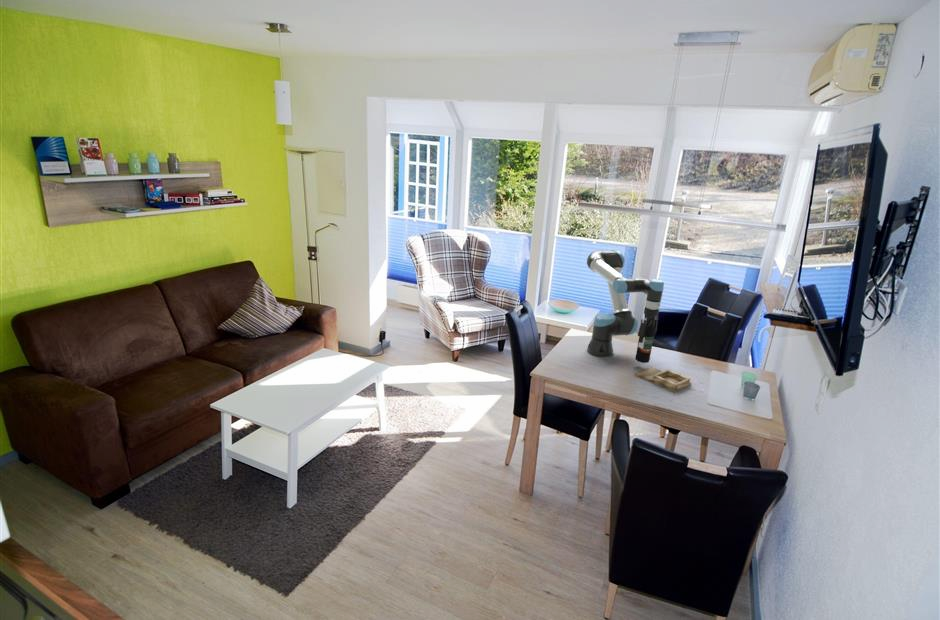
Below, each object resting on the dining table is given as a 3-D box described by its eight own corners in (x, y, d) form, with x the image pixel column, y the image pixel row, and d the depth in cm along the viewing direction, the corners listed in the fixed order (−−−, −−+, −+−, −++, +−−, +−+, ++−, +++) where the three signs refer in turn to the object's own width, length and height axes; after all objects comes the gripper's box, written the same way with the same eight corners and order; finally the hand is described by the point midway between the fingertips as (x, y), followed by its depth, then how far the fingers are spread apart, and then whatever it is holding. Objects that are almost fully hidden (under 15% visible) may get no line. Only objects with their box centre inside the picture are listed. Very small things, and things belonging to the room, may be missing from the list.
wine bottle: (647, 357, 289) (656, 308, 279) (650, 363, 282) (660, 313, 272) (634, 356, 290) (643, 307, 280) (636, 362, 283) (646, 312, 273)
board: (634, 374, 276) (635, 368, 275) (650, 368, 286) (652, 362, 285) (674, 392, 258) (676, 385, 257) (690, 384, 268) (692, 378, 267)
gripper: (647, 312, 267) (640, 352, 274) (668, 306, 279) (660, 344, 287) (635, 308, 272) (628, 347, 280) (656, 302, 285) (649, 340, 292)
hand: (644, 346), depth 283 cm, fingers closed on wine bottle, 7 cm apart
